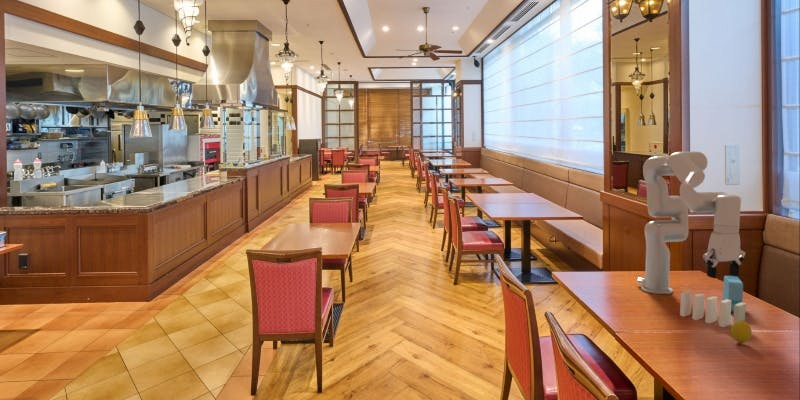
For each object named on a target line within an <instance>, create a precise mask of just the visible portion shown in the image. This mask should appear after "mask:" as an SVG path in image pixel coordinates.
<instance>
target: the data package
mask: <svg viewBox="0 0 800 400" xmlns="http://www.w3.org/2000/svg"><path fill="white" fill-rule="evenodd" d="M722 285H723V287H722V301H723V300H726V299H728V300H731V313H734V305H736V304H738V303H740V302H742V303H743V296H744V283H743V281H741V279H740V278H739V276H734V275H724V276H723V284H722Z"/></svg>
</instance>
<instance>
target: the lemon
mask: <svg viewBox="0 0 800 400" xmlns="http://www.w3.org/2000/svg"><path fill="white" fill-rule="evenodd" d="M730 335H731V337H732V339H733V340H735V341H736V342H737V343H738V344H740V345H742V344H745V343H748V342H749V341H750V339H751V338H752V328H751V326H750V325H749V324H748V323H747V322H746V321H745V322H744V321H743V320H740V321H737V322H735V323H734V324H731V328H730Z"/></svg>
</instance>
